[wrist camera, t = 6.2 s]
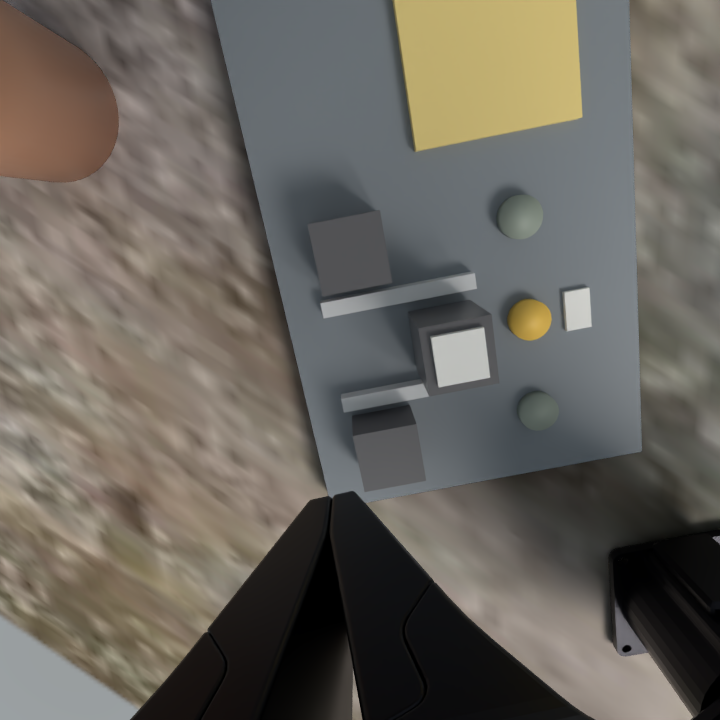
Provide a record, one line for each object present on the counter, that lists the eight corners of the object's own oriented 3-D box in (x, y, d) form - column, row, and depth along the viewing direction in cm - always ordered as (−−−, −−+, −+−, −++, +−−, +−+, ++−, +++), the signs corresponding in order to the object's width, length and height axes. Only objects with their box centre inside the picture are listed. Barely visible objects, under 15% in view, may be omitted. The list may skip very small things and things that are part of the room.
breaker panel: (627, 439, 23) (670, 474, 20) (332, 494, 23) (330, 537, 20) (607, -71, 17) (664, -132, 14) (218, 11, 18) (192, -31, 15)
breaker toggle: (477, 359, 20) (501, 385, 17) (417, 370, 20) (430, 398, 17) (469, 299, 19) (493, 315, 16) (407, 311, 20) (419, 329, 16)
